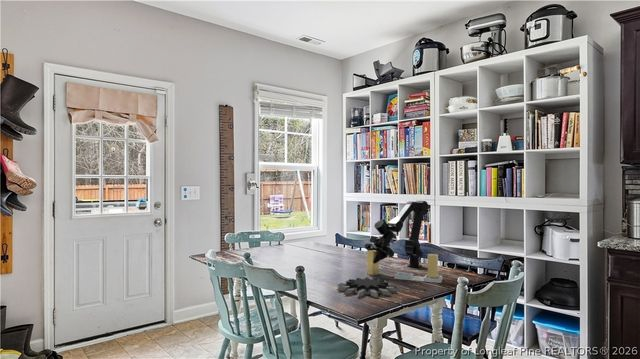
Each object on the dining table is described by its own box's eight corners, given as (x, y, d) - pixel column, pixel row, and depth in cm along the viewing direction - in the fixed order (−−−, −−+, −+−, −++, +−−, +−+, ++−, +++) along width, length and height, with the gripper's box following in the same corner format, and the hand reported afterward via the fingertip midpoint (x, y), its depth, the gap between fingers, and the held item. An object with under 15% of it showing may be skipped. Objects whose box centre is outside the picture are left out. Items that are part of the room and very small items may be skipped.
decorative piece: (366, 271, 202) (413, 282, 179) (366, 279, 202) (413, 291, 179) (321, 281, 183) (368, 295, 160) (321, 289, 183) (368, 304, 160)
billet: (373, 272, 215) (373, 250, 215) (378, 274, 211) (378, 251, 211) (367, 273, 212) (366, 250, 213) (372, 275, 209) (372, 252, 209)
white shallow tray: (397, 276, 207) (397, 271, 207) (442, 280, 198) (442, 275, 198) (393, 280, 199) (393, 275, 199) (440, 284, 190) (440, 279, 190)
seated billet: (429, 278, 199) (428, 253, 199) (438, 279, 197) (437, 254, 197) (427, 280, 195) (427, 255, 195) (437, 281, 193) (436, 255, 193)
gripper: (366, 228, 222) (351, 250, 216) (390, 232, 207) (374, 255, 200) (376, 241, 226) (362, 263, 220) (400, 245, 211) (386, 268, 205)
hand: (370, 262), depth 211 cm, fingers closed on billet, 4 cm apart
